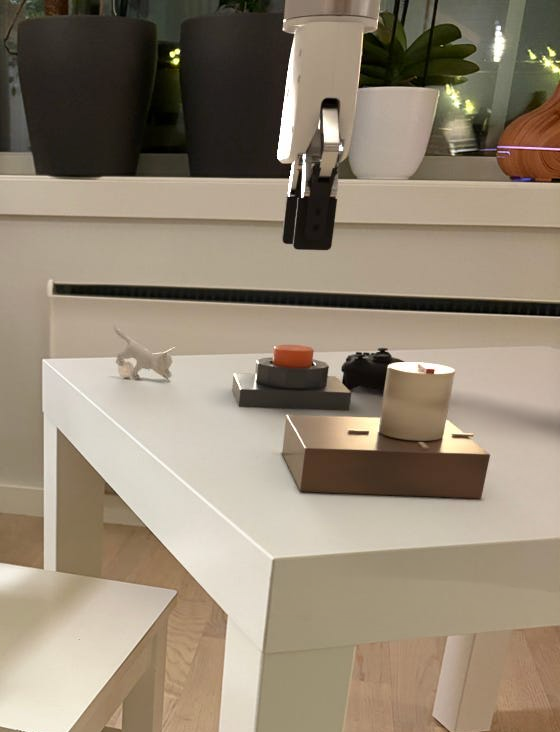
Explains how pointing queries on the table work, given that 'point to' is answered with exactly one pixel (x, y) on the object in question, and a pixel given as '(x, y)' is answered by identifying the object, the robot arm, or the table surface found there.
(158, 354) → the beige animal figurine
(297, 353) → the button
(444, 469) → the panel
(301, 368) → the button block
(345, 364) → the game controller
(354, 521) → the table surface
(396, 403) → the dial
